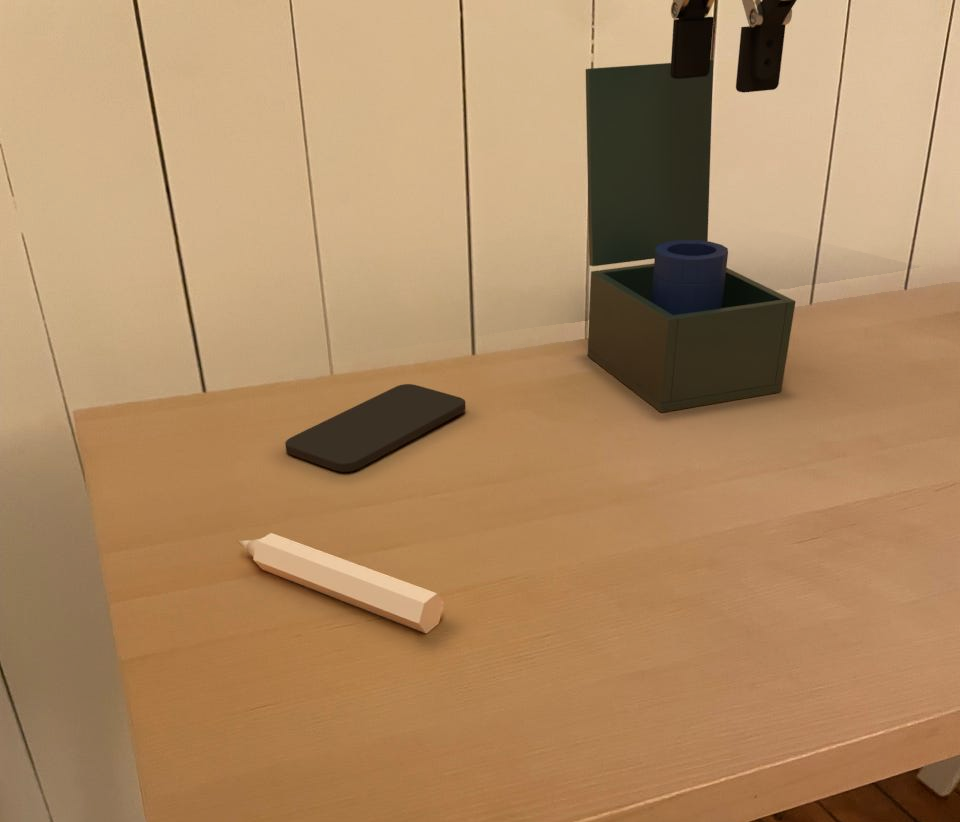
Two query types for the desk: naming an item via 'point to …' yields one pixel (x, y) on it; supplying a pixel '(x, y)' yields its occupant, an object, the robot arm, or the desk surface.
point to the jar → (689, 276)
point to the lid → (646, 160)
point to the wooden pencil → (347, 581)
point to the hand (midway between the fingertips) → (721, 83)
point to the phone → (374, 427)
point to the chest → (689, 340)
